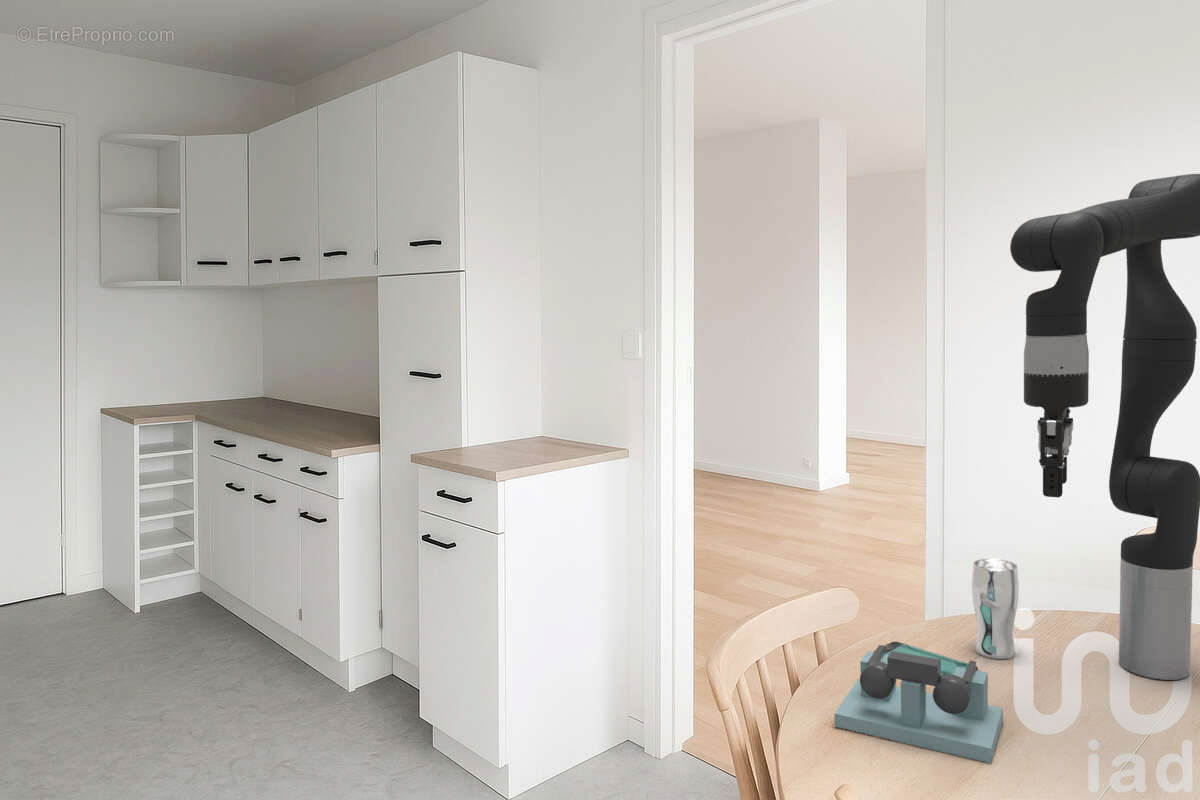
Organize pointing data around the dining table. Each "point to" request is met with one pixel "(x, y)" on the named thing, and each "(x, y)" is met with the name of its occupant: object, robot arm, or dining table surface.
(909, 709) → the stand
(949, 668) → the smartphone
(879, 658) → the glasses
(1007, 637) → the beer glass
